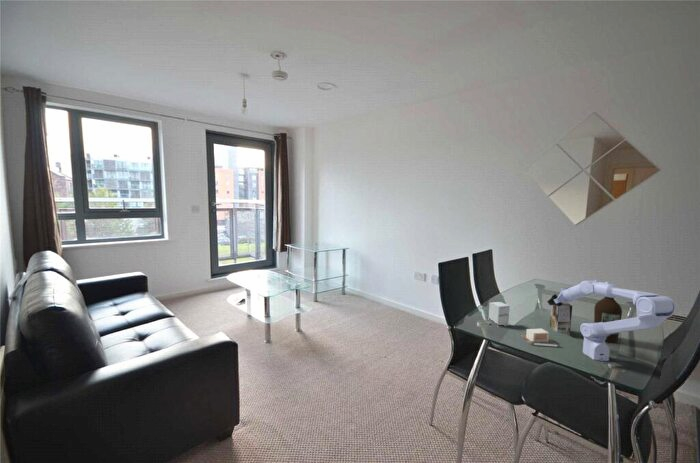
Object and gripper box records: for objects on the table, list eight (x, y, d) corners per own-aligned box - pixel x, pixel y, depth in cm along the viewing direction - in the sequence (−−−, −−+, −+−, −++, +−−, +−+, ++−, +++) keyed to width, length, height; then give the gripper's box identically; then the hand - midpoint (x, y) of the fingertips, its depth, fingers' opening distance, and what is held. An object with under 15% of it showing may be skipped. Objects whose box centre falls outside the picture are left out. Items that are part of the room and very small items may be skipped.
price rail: (559, 347, 141) (559, 344, 141) (531, 345, 143) (532, 342, 143) (558, 346, 142) (558, 343, 142) (530, 344, 144) (531, 341, 144)
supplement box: (497, 329, 165) (498, 306, 163) (487, 324, 172) (489, 302, 170) (508, 328, 167) (510, 305, 165) (498, 322, 174) (500, 301, 172)
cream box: (526, 337, 151) (526, 329, 150) (540, 337, 152) (541, 328, 151) (533, 342, 146) (534, 333, 145) (548, 341, 147) (549, 332, 146)
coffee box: (570, 336, 157) (573, 305, 156) (556, 335, 158) (559, 304, 157) (562, 329, 166) (564, 300, 165) (548, 328, 167) (551, 299, 166)
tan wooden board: (560, 350, 141) (560, 347, 141) (530, 348, 143) (530, 345, 143) (547, 339, 153) (547, 336, 153) (519, 337, 155) (519, 334, 155)
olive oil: (589, 332, 162) (593, 286, 159) (614, 336, 158) (618, 289, 155) (596, 341, 152) (600, 292, 150) (622, 345, 148) (628, 295, 146)
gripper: (579, 279, 148) (559, 288, 160) (558, 290, 144) (539, 298, 155) (589, 293, 145) (568, 300, 157) (568, 304, 141) (548, 311, 153)
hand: (554, 300), depth 156 cm, fingers open, 7 cm apart
